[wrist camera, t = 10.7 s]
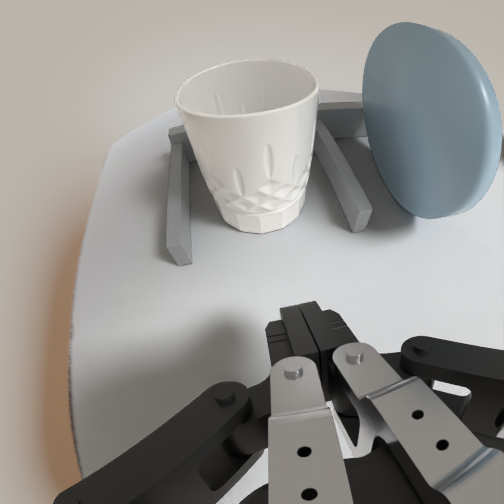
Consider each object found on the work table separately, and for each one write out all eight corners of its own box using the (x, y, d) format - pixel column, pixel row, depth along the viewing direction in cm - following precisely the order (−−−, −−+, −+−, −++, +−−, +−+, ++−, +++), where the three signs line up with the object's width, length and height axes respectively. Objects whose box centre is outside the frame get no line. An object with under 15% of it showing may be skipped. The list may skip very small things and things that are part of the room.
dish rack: (471, 244, 17) (558, 108, 5) (180, 309, 17) (35, 127, 5) (394, 128, 25) (416, 12, 13) (179, 156, 25) (134, 24, 13)
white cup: (214, 169, 24) (188, 67, 15) (304, 163, 23) (306, 56, 14) (206, 245, 20) (158, 128, 11) (318, 238, 19) (336, 112, 10)
